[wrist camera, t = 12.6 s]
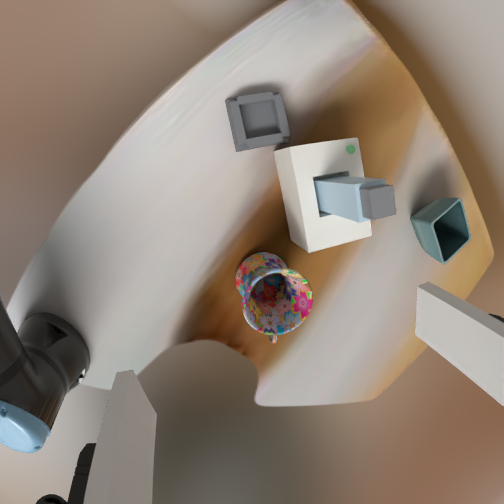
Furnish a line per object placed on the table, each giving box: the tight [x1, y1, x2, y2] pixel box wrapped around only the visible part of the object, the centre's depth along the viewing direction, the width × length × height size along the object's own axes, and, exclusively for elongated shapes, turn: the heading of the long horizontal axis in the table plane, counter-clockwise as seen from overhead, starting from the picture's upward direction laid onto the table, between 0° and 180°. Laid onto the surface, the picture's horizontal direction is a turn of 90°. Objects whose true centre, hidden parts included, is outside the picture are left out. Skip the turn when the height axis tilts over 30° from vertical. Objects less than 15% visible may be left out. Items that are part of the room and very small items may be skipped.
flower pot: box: [411, 198, 471, 265], centre depth 48 cm, size 9×9×9 cm
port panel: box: [273, 138, 372, 253], centre depth 42 cm, size 10×14×8 cm
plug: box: [313, 176, 396, 223], centre depth 35 cm, size 4×4×15 cm
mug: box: [236, 252, 313, 343], centre depth 44 cm, size 12×9×11 cm
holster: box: [225, 92, 290, 152], centre depth 41 cm, size 8×8×2 cm
